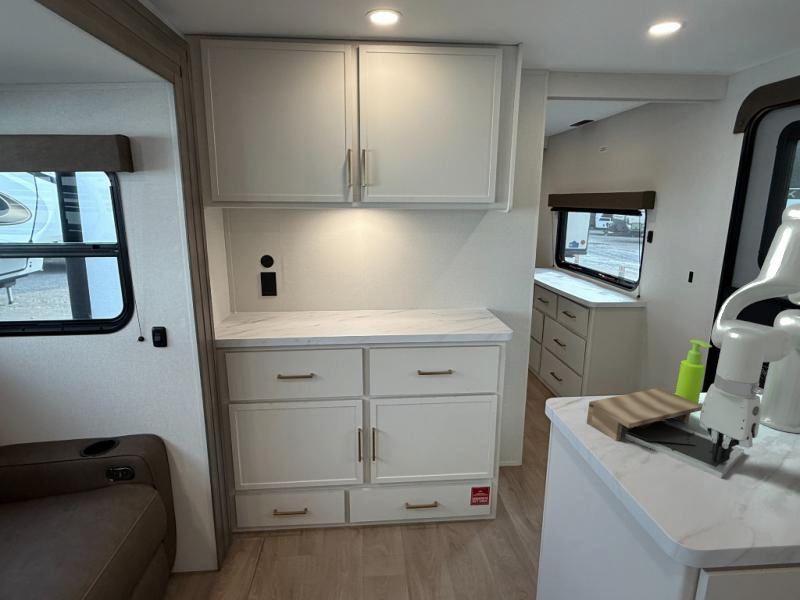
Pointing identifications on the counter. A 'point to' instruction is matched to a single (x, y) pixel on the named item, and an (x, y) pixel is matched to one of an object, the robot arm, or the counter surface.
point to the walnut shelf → (638, 410)
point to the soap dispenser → (691, 373)
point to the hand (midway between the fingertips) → (719, 460)
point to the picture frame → (682, 446)
